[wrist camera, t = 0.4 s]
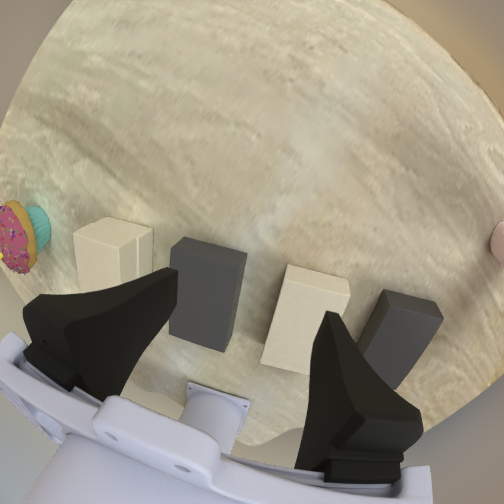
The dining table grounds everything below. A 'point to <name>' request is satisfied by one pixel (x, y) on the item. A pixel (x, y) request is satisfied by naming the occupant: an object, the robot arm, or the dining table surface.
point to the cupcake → (22, 235)
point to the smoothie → (498, 243)
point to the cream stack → (112, 253)
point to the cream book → (301, 316)
